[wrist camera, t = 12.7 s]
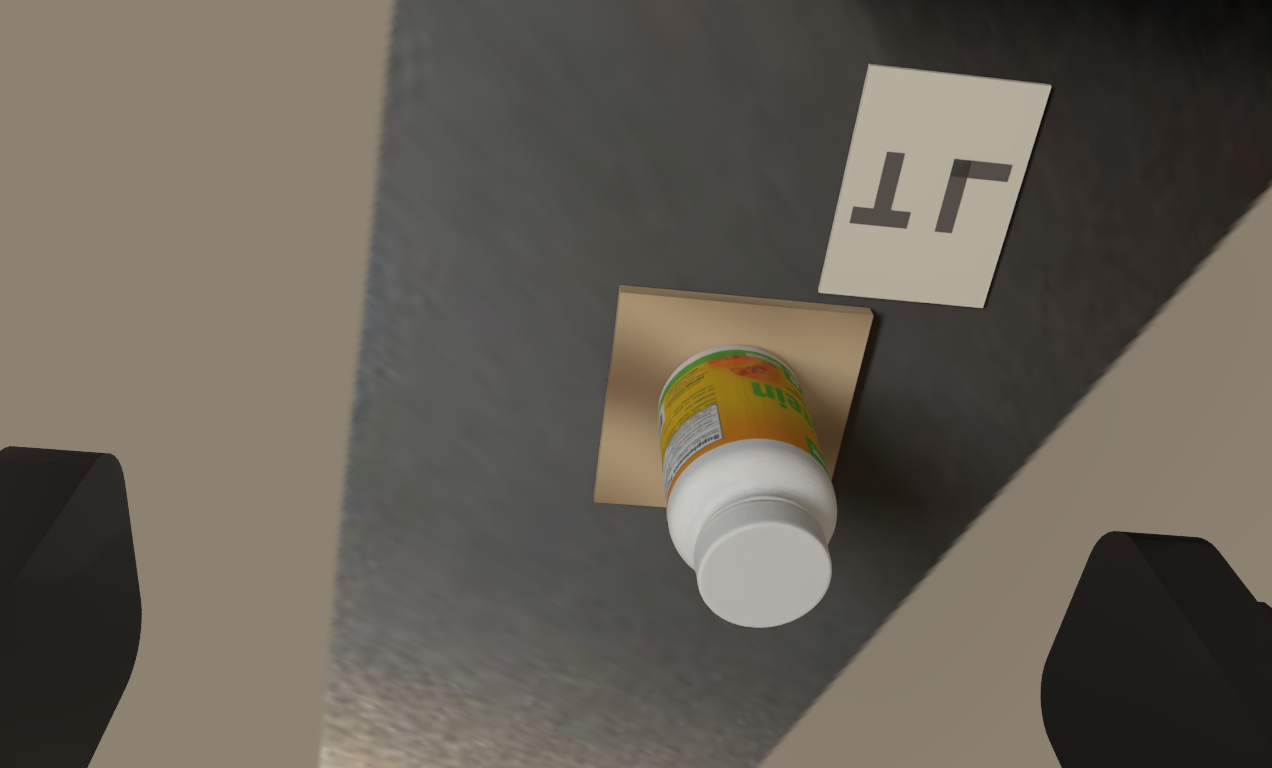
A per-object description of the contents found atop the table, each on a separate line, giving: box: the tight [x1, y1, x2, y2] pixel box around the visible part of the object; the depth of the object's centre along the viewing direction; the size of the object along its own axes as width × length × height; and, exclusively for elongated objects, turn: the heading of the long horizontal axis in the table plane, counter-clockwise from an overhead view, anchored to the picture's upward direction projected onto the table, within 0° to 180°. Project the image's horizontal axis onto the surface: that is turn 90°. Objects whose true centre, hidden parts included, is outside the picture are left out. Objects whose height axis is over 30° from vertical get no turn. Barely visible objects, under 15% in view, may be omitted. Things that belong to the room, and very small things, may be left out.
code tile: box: [818, 64, 1052, 308], centre depth 37 cm, size 8×6×1 cm
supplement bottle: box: [658, 345, 837, 628], centre depth 37 cm, size 5×5×10 cm
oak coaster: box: [594, 285, 873, 507], centre depth 41 cm, size 9×9×1 cm
